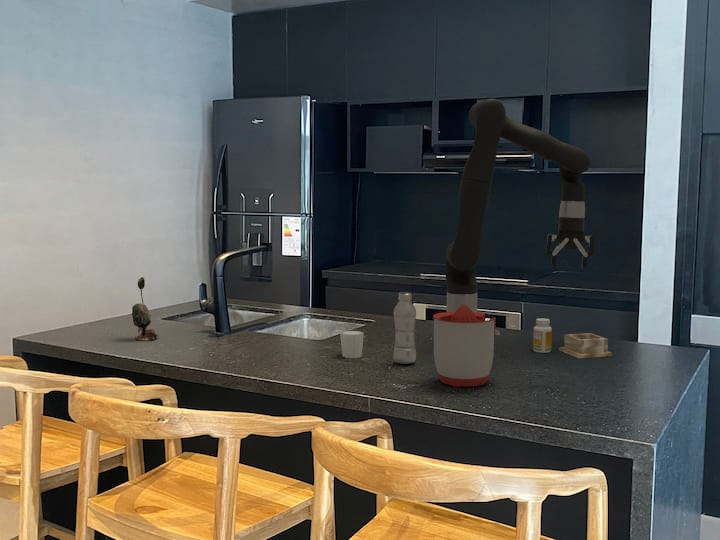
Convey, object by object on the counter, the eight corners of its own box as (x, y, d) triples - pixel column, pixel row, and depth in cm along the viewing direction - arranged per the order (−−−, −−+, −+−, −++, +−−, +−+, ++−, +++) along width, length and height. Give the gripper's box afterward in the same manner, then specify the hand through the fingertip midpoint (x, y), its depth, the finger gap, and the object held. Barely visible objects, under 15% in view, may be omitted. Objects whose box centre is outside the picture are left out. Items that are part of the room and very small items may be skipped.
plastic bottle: (418, 361, 216) (419, 291, 214) (412, 367, 210) (413, 295, 208) (397, 360, 219) (397, 290, 216) (390, 365, 212) (390, 294, 210)
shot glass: (367, 354, 226) (367, 331, 225) (357, 359, 219) (357, 335, 219) (346, 352, 228) (346, 329, 228) (336, 357, 222) (336, 333, 221)
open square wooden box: (578, 358, 221) (579, 341, 220) (559, 350, 231) (559, 334, 231) (612, 356, 223) (612, 339, 223) (591, 348, 234) (592, 332, 233)
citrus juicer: (511, 387, 189) (513, 307, 187) (446, 392, 185) (447, 310, 182) (483, 372, 204) (485, 298, 202) (423, 377, 199) (423, 301, 197)
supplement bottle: (549, 349, 233) (550, 317, 232) (552, 353, 227) (553, 321, 226) (531, 349, 233) (532, 317, 232) (534, 352, 228) (534, 320, 227)
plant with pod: (124, 341, 245) (122, 279, 242) (144, 335, 255) (142, 275, 253) (146, 343, 242) (144, 280, 240) (165, 336, 253) (164, 276, 251)
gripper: (548, 215, 233) (545, 268, 235) (597, 217, 230) (594, 270, 232) (547, 214, 240) (544, 266, 242) (594, 216, 238) (591, 268, 239)
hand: (568, 268), depth 237 cm, fingers open, 8 cm apart
